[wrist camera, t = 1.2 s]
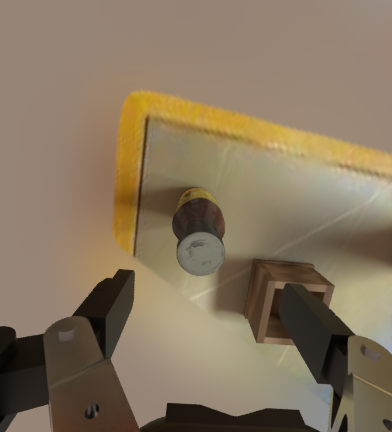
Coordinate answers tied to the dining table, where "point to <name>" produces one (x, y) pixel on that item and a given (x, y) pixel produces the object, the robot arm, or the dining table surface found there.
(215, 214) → the sauce bottle
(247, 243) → the dining table surface
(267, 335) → the bottle caddy
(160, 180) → the dining table surface
